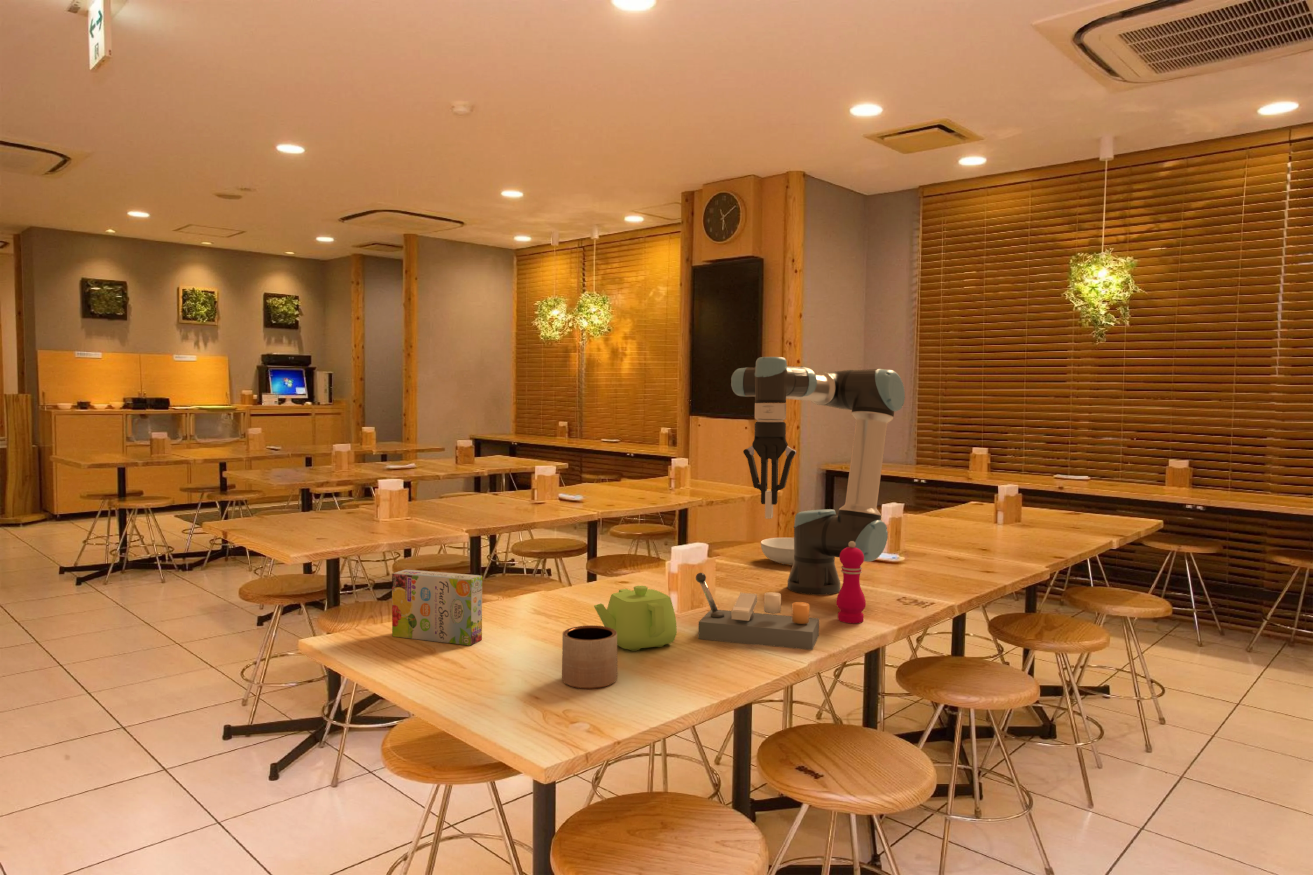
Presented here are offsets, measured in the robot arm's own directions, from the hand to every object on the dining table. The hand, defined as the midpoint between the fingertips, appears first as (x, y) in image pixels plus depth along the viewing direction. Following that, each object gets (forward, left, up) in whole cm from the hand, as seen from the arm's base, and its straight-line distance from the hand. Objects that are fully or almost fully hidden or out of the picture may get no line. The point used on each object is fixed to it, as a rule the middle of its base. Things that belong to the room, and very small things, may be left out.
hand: (769, 517), depth 202 cm
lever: (+11, -11, -21) cm, 26 cm away
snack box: (+36, -70, -27) cm, 83 cm away
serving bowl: (-79, -6, -27) cm, 84 cm away
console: (+11, 0, -26) cm, 29 cm away
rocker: (+11, -4, -20) cm, 23 cm away
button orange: (+11, +10, -22) cm, 26 cm away
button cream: (+11, +3, -20) cm, 23 cm away
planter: (+51, -26, -27) cm, 63 cm away
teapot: (+26, -26, -27) cm, 45 cm away
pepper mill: (-11, +19, -27) cm, 34 cm away
